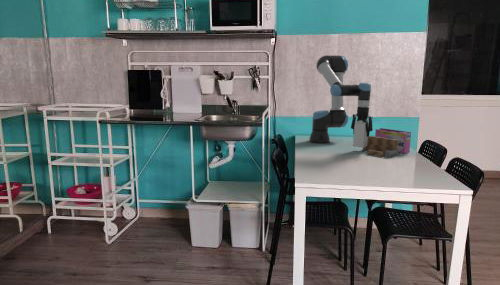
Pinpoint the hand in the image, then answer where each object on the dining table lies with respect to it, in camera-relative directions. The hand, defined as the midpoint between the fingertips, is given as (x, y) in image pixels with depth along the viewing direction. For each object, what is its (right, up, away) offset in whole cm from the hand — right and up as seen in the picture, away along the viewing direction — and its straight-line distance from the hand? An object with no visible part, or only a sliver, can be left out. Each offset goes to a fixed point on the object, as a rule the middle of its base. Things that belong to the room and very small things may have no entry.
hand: (360, 140), depth 264 cm
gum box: (+23, -7, +8) cm, 26 cm away
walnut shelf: (+8, -9, -5) cm, 13 cm away
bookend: (+16, -10, -12) cm, 23 cm away
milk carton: (0, -4, +1) cm, 4 cm away
